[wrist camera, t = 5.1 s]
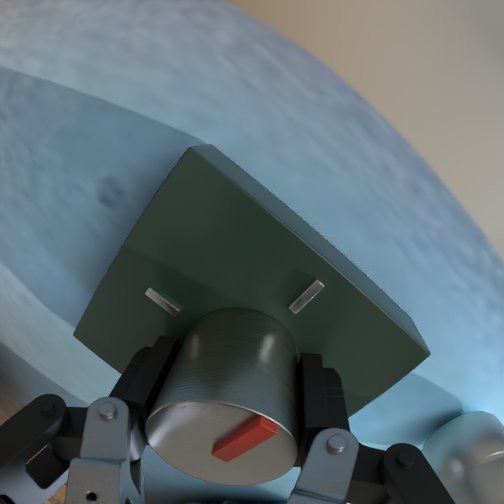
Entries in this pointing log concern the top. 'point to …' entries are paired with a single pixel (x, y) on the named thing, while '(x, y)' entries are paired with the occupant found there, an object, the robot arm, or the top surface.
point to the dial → (230, 401)
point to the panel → (246, 280)
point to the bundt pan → (226, 503)
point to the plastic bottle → (469, 458)
